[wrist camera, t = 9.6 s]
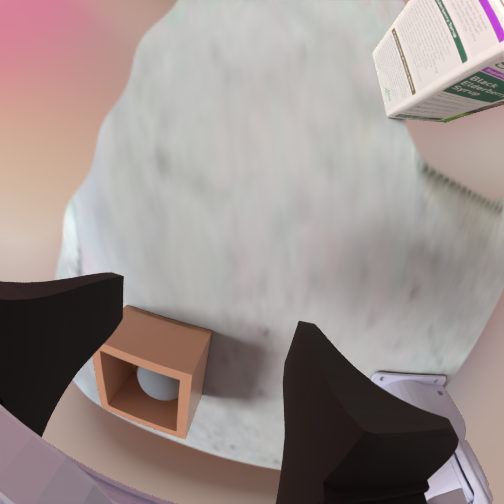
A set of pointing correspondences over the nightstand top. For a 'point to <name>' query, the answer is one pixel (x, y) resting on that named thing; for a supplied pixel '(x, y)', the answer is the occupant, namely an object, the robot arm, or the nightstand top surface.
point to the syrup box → (442, 59)
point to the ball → (158, 384)
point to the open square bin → (152, 369)
